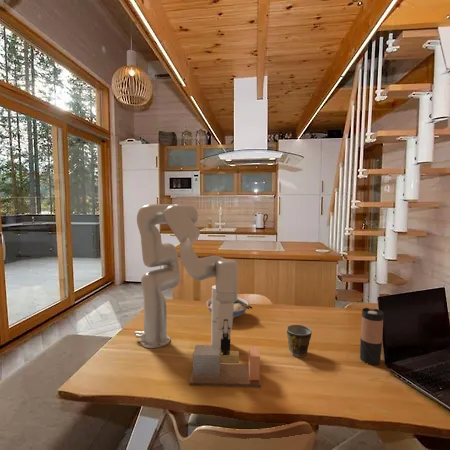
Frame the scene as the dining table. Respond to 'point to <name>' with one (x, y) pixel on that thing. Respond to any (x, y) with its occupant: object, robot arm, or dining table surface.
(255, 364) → the socket
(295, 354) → the ceramic cup
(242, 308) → the ramen bowl
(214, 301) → the cylindrical container
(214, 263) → the robot arm
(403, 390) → the dining table surface
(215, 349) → the brown wooden base board
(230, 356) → the sliding bolt with handle
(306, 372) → the dining table surface
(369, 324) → the travel mug
